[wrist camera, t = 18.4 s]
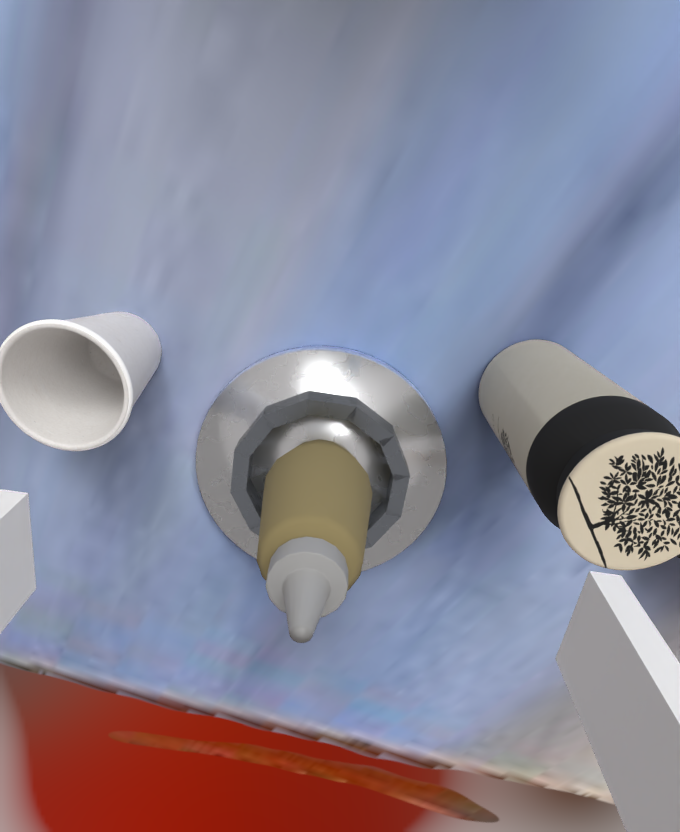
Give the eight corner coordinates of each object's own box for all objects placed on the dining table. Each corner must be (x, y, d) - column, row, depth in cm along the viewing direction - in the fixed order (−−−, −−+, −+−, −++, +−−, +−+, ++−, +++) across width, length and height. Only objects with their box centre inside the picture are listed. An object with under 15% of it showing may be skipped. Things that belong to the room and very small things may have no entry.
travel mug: (571, 324, 42) (717, 408, 25) (589, 419, 45) (733, 552, 28) (466, 357, 43) (539, 458, 26) (490, 447, 46) (570, 592, 29)
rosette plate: (208, 326, 42) (196, 337, 39) (469, 366, 43) (478, 380, 40) (193, 548, 50) (182, 573, 46) (416, 580, 50) (421, 606, 47)
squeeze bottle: (273, 516, 47) (228, 695, 30) (266, 425, 44) (211, 566, 27) (371, 515, 46) (382, 694, 29) (370, 424, 43) (381, 564, 27)
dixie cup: (65, 288, 42) (-18, 313, 32) (178, 299, 42) (128, 327, 32) (74, 394, 45) (0, 445, 35) (179, 404, 45) (133, 458, 35)
